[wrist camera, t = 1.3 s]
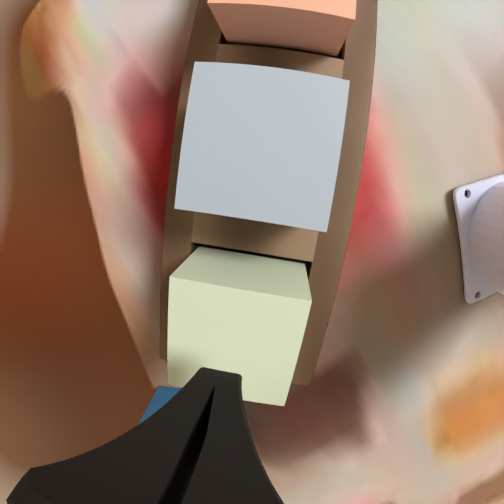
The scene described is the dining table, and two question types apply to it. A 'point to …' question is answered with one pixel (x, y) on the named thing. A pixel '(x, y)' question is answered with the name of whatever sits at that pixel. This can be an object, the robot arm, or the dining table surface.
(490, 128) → the dining table surface
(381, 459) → the dining table surface
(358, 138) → the wooden tray
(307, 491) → the dining table surface
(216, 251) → the sage key
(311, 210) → the slate key
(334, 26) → the peach square block
